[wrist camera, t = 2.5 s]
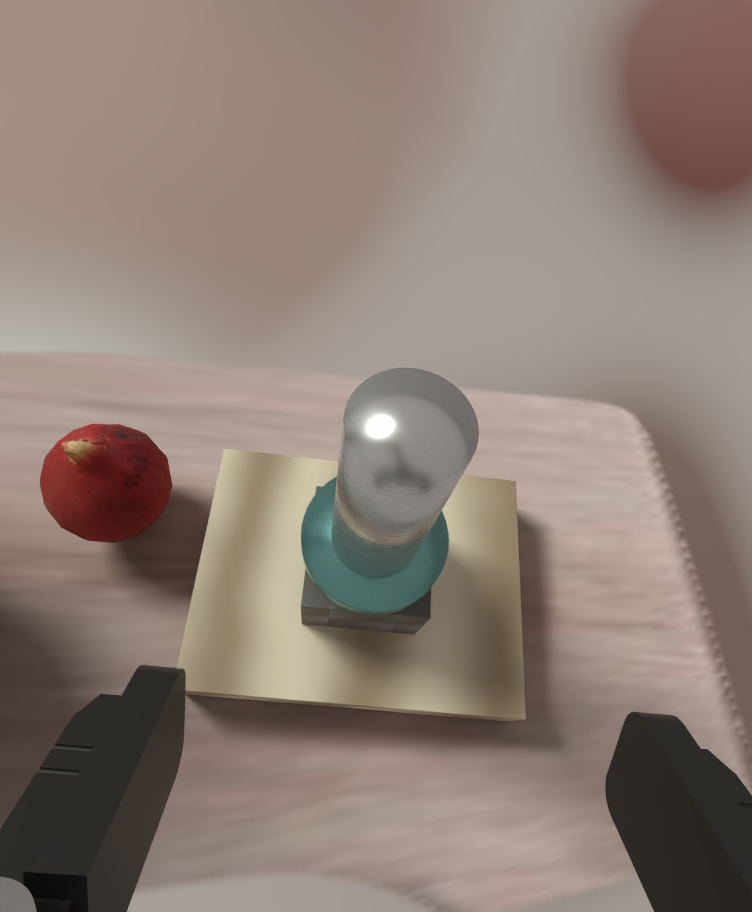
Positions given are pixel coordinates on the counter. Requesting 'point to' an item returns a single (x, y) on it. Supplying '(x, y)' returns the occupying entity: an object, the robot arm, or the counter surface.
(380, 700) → the wooden base with socket
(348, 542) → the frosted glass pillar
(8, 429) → the counter surface
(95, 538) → the onion
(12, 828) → the robot arm
